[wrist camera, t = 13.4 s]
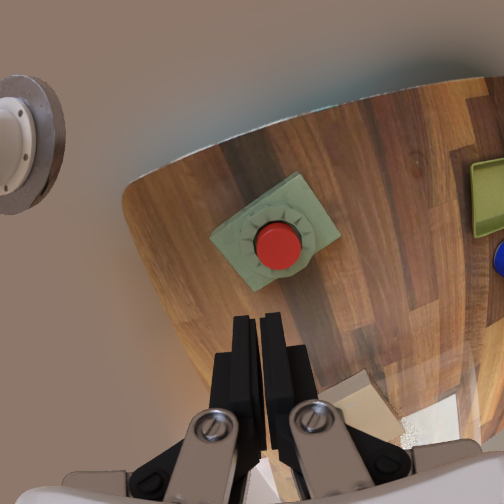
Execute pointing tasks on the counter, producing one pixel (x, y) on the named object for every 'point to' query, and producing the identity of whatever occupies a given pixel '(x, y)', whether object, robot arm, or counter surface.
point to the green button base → (275, 211)
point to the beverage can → (499, 259)
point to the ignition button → (278, 246)
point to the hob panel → (365, 406)
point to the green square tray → (487, 196)
